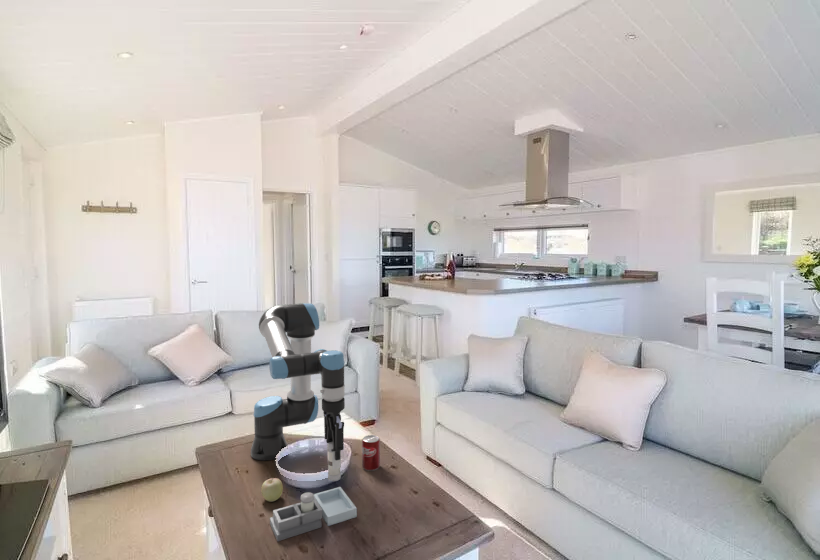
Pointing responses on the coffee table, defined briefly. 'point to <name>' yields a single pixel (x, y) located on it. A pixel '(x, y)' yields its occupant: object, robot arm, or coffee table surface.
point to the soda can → (371, 452)
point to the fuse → (332, 474)
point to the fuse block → (296, 518)
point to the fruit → (272, 489)
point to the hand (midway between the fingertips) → (334, 464)
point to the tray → (335, 506)
